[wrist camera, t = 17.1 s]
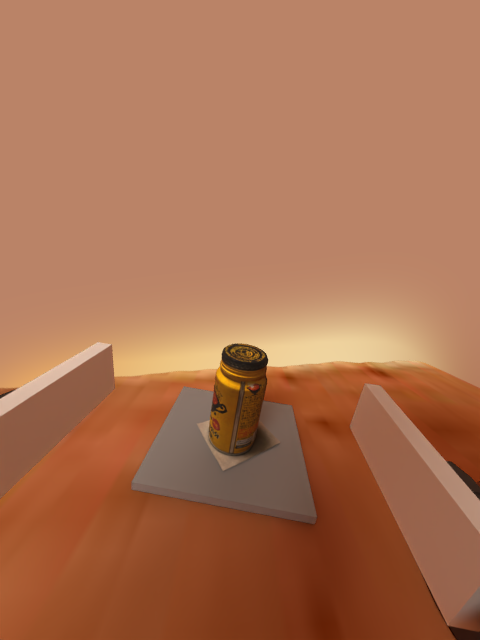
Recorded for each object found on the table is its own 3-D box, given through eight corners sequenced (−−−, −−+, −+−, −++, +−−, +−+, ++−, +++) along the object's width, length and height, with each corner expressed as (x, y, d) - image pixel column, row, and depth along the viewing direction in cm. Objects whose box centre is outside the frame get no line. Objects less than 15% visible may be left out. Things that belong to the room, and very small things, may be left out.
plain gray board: (290, 410, 37) (292, 405, 36) (314, 524, 21) (317, 517, 21) (183, 391, 37) (183, 386, 37) (131, 489, 22) (131, 482, 21)
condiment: (196, 425, 29) (205, 342, 26) (248, 408, 34) (262, 336, 31) (222, 472, 24) (239, 375, 20) (280, 444, 28) (302, 361, 25)
